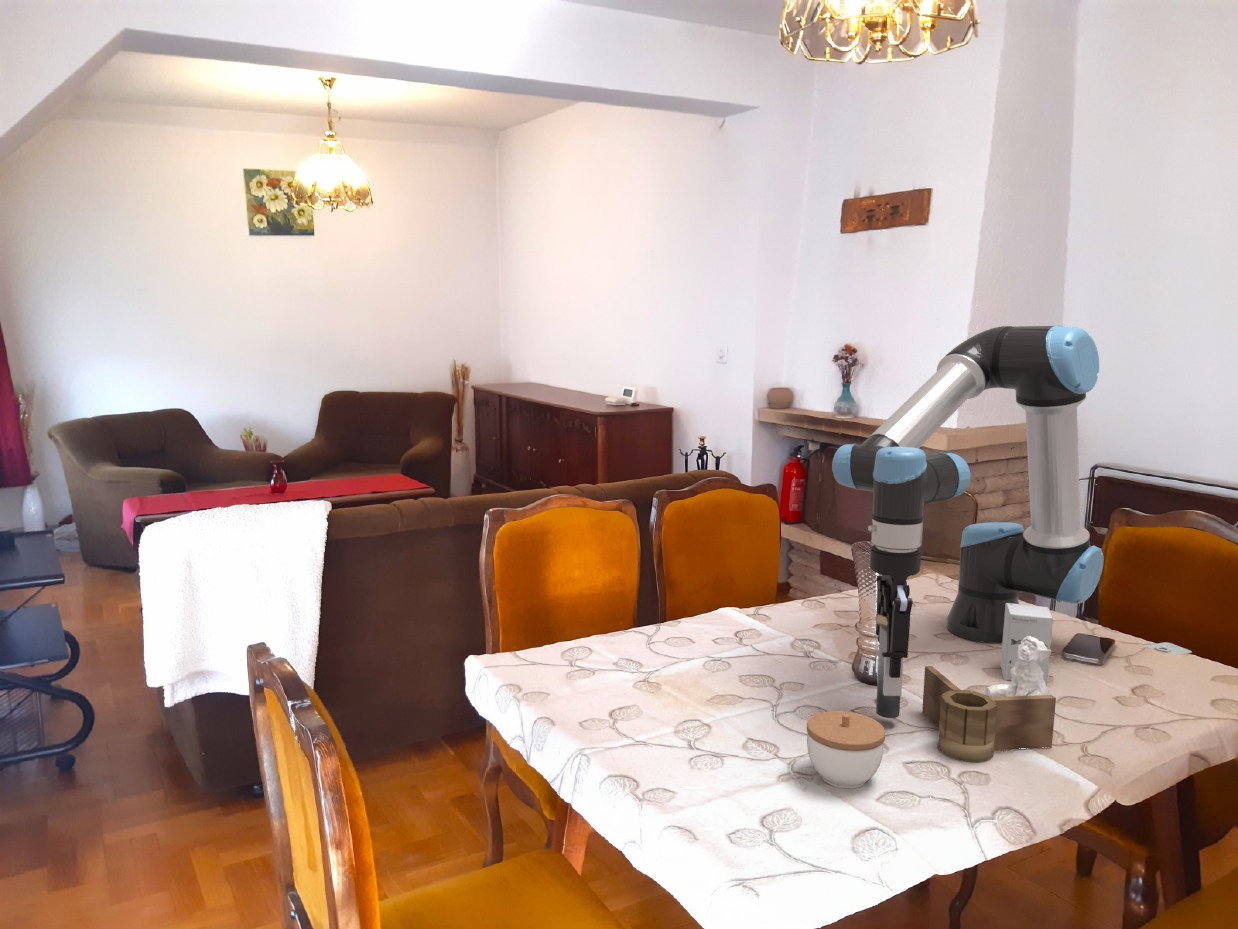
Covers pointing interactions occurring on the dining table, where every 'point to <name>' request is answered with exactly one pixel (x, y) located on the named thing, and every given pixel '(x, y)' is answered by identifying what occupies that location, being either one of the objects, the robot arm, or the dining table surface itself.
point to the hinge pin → (885, 704)
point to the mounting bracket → (1169, 648)
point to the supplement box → (1024, 634)
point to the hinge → (985, 719)
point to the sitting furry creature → (1025, 672)
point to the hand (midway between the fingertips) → (888, 689)
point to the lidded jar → (845, 747)
